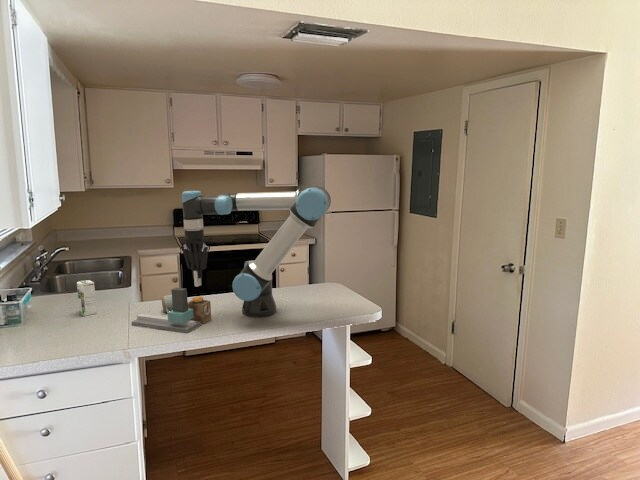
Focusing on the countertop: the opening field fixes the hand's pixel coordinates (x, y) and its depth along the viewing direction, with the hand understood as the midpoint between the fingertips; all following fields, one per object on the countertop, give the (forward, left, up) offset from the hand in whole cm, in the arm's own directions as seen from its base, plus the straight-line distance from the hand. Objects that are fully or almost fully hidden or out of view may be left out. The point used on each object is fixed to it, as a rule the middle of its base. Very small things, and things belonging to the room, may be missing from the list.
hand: (198, 285), depth 183 cm
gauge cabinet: (0, 0, -15) cm, 15 cm away
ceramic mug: (+18, -6, -16) cm, 25 cm away
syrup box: (+52, +8, -15) cm, 55 cm away
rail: (+10, +9, -15) cm, 20 cm away
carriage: (+2, +9, -12) cm, 15 cm away
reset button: (0, 0, -7) cm, 7 cm away
